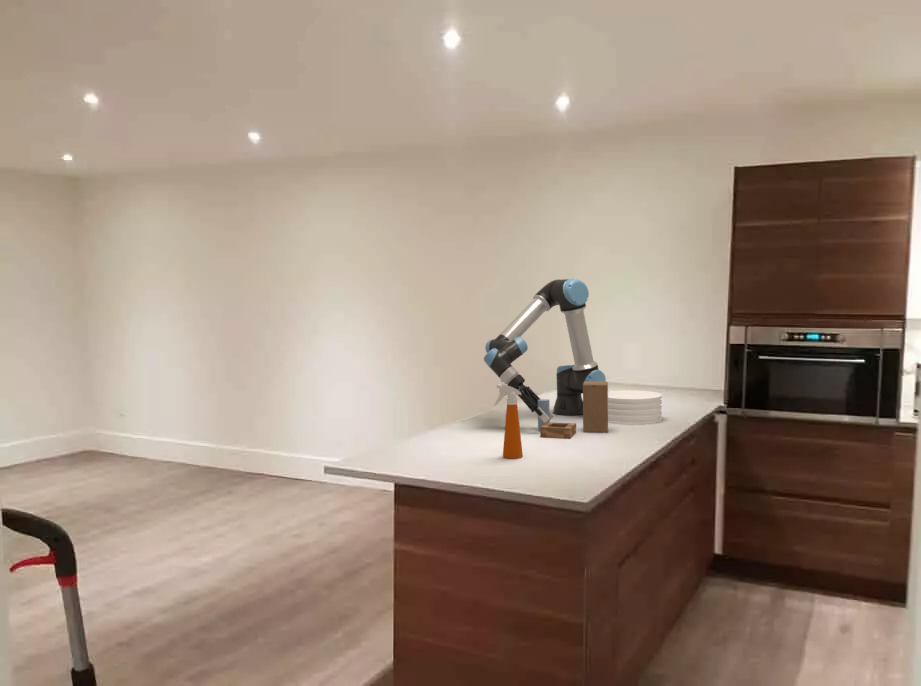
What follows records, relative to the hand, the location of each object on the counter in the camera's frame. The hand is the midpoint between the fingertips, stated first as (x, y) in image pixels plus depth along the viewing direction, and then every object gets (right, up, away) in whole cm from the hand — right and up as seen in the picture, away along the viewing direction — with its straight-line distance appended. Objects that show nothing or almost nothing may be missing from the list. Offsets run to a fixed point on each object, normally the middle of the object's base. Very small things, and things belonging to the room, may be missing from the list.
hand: (549, 419), depth 312 cm
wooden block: (+19, -5, +1) cm, 20 cm away
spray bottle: (-20, -9, -46) cm, 51 cm away
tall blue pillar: (-2, -5, +3) cm, 6 cm away
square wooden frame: (+3, -6, -8) cm, 10 cm away
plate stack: (+39, -3, +26) cm, 47 cm away
